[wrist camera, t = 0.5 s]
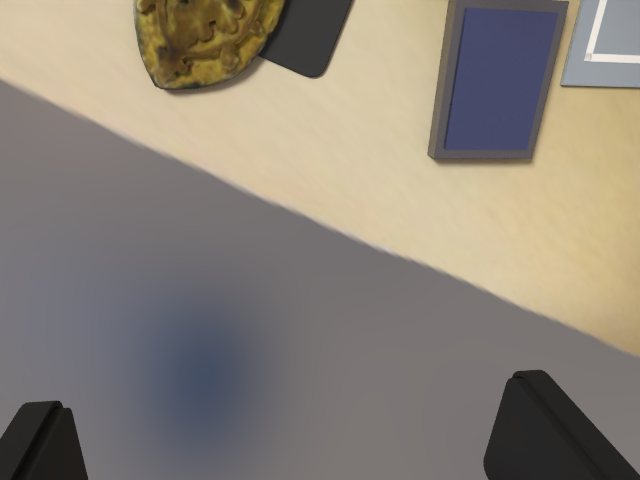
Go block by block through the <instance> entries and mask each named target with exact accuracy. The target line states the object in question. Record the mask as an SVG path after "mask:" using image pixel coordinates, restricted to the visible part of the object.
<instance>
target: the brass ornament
mask: <svg viewBox="0 0 640 480" xmlns="http://www.w3.org/2000/svg"><path fill="white" fill-rule="evenodd" d="M285 3H286V0H134V3H133V6H134V21H135V28H136V34H137V41H138V46H139V50H140V54H141V57H142V60H143V62H144V65H145V67H146V70H147V72H148V73H149V75H150V77H151V79H152V81H153V83H154V85H155V86H156V87H158V88H160V89H191V88H202V87H207V86H211V85H215V84H218V83H221V82H223V81H226V80H228V79H230V78H232V77H234V76H236V75H238V74H239V73H240V72H242V71H243V70H244V69H245V68H247V66H248V65H249V64H250V63H251V62H252V60H253V59H254V58H255V57H256V56H257V55H258V53H259V52H260V51H261V50H262V48H263V47H264V46H265V44H266V42H267V41H268V39H269V38H270V37H271V35H272V33H273V32H274V30H275V28H276V27H277V25H278V22H279V20H280V17H281V14H282V12H283V9H284V6H285Z"/></svg>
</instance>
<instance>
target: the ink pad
mask: <svg viewBox="0 0 640 480" xmlns="http://www.w3.org/2000/svg"><path fill="white" fill-rule="evenodd" d="M568 4H569V1H553V0H449V2H448V10H447V17H446V24H445V31H444V38H443V46H442V53H441V60H440V67H439V75H438V82H437V89H436V96H435V104H434V111H433V118H432V125H431V132H430V140H429V147H428V154H427V155H429V156H430V157H432V158H462V159H532V155H533V151H534V147H535V143H536V138H537V134H538V130H539V126H540V122H541V117H542V113H543V109H544V105H545V101H546V96H547V92H548V88H549V84H550V80H551V76H552V71H553V67H554V63H555V59H556V55H557V50H558V46H559V42H560V38H561V34H562V30H563V25H564V21H565V17H566V13H567V9H568Z"/></svg>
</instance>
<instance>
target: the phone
mask: <svg viewBox="0 0 640 480" xmlns="http://www.w3.org/2000/svg"><path fill="white" fill-rule="evenodd" d="M351 1H352V0H286V3H285V6H284V9H283V12H282V14H281V17H280V20H279V22H278V25H277V27H276V28H275V30H274V32H273V33H272V35H271V37H270V38H269V39H268V41H267V42H266V44H265V46H264V47H263V48H262V50H261V51H260V52H259V53H258V55H259V56H261V57H263V58H265V59H268V60H270V61H272V62H275V63H277V64H279V65H281V66H284V67H286V68H288V69H291V70H293V71H295V72H298V73H300V74H302V75H305V76H308V77H316V76H318V75H320V74H321V73H322V72H323V71H324V69H325V68H326V65H327V63H328V61H329V58H330V55H331V53H332V50H333V48H334V45H335V42H336V40H337V37H338V35H339V32H340V30H341V27H342V24H343V22H344V19H345V17H346V14H347V11H348V9H349V6H350V4H351Z"/></svg>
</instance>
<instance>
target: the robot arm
mask: <svg viewBox="0 0 640 480" xmlns="http://www.w3.org/2000/svg"><path fill="white" fill-rule="evenodd" d="M484 470H485V473H486V475H487V477H488V479H489V480H640V475H639V474H638V473H637V472H636V471H635V470H634V469H633V467H632V466H631V465H630V464H629V463H628V462H627V461H626V460H625V459H624V457H623V456H622V455H621V454H620V453H619V452H618V451H617V450H616V449H615V447H614V446H613V445H612V444H611V443H610V442H609V441H608V440H607V439H606V438H605V437H604V435H603V434H602V433H601V432H600V431H599V430H598V429H597V428H596V427H595V425H594V424H593V423H592V422H591V421H590V420H589V419H588V418H587V417H586V416H585V414H584V413H583V412H582V411H581V410H580V409H579V408H578V407H577V406H576V405H575V403H574V402H573V401H572V400H571V399H570V398H569V397H568V396H567V395H566V394H565V392H564V391H563V390H562V389H561V388H560V387H559V386H558V385H557V384H556V383H555V381H554V380H553V379H552V378H551V377H550V376H549V375H548V374H547V373H546V372H545V371H543V370H529V371H517V372H515V373H514V374H513V377H512V378H510V379H508V381H507V383H506V386H505V390H504V393H503V396H502V400H501V403H500V407H499V410H498V413H497V416H496V420H495V423H494V426H493V430H492V433H491V436H490V440H489V443H488V446H487V450H486V453H485V456H484ZM0 480H88V476H87V472H86V468H85V464H84V460H83V456H82V451H81V447H80V443H79V439H78V435H77V431H76V426H75V423H74V418H73V414H72V411H71V409H70V408H63V406H62V403H61V402H60V401H45V402H29V403H25V404H24V405H22V407H21V408H20V409H19V410H18V412H17V413H16V415H15V417H14V418H13V420H12V421H11V423H10V424H9V426H8V428H7V429H6V431H5V433H4V434H3V436H2V437H1V439H0Z"/></svg>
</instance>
